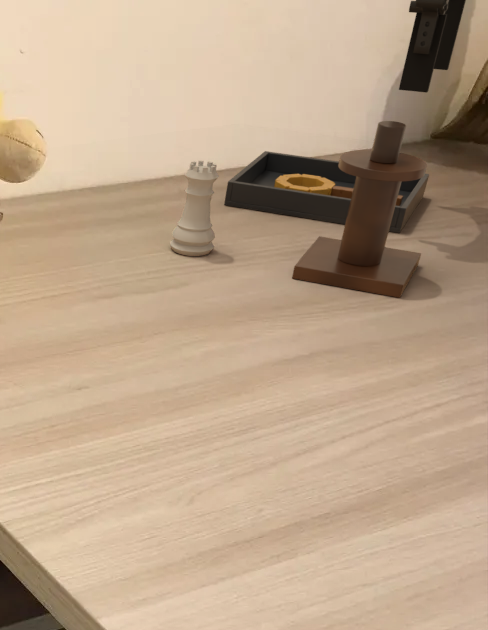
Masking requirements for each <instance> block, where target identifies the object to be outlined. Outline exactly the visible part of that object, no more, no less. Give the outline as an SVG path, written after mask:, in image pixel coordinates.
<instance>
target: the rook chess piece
mask: <svg viewBox="0 0 488 630" xmlns="http://www.w3.org/2000/svg"><path fill="white" fill-rule="evenodd" d="M204 163H205V162H204V160H198V162H197V161H196V160H193V161H191V162H190V163H189V168H188V169H187V170H186V172H185V173H184V176H185V177H186V180H187V187H186V188H185V190H184V192H185V193H186V195H185V200H184V201H185V202H184V206H183V209H182V211H181V216H180V219H179V220H178V221H177V223H176V224H177V225H176V226H175V227H174V228H173V229H172V231H171V236H172V238H173V239H171V240H170V241H169V245H170V247H171V250H172V251H173V252H174V253H176V254H180V255H183V256H188V257H200V256H206V255H208V254H210V253H211V251H212V250H213V249H214V248H215V245H214V243H213V241H214V240H215V238H216V234H215V233H216V232H214V230H213V228H212V227H213V224H212V223H211V222H212V221H211V202H212V196H213V195H214V194H215V192H214V190H213V185H214V183H215V182H216V181H217V179H218V178H220V175H219V173H218V171H217V166H218V164H217V163H214V162H213V161H207V164H206V165H204Z"/></svg>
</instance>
